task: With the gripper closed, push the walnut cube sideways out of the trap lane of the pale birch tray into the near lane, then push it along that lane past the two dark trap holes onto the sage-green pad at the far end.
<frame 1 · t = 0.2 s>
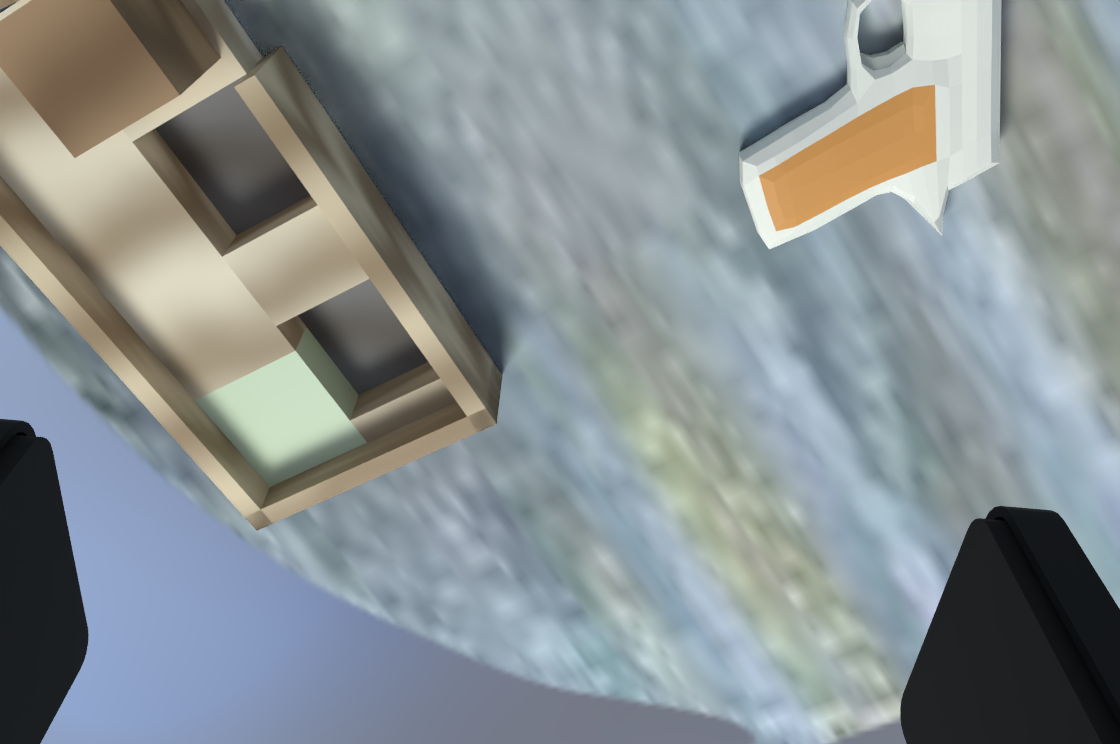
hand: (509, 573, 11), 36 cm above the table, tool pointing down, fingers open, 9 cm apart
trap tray: (231, 224, 48), on the table
block: (131, 31, 41), point 2 cm above the table, touching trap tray
pistol: (855, 14, 43), on the table
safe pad: (294, 394, 53), resting in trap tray
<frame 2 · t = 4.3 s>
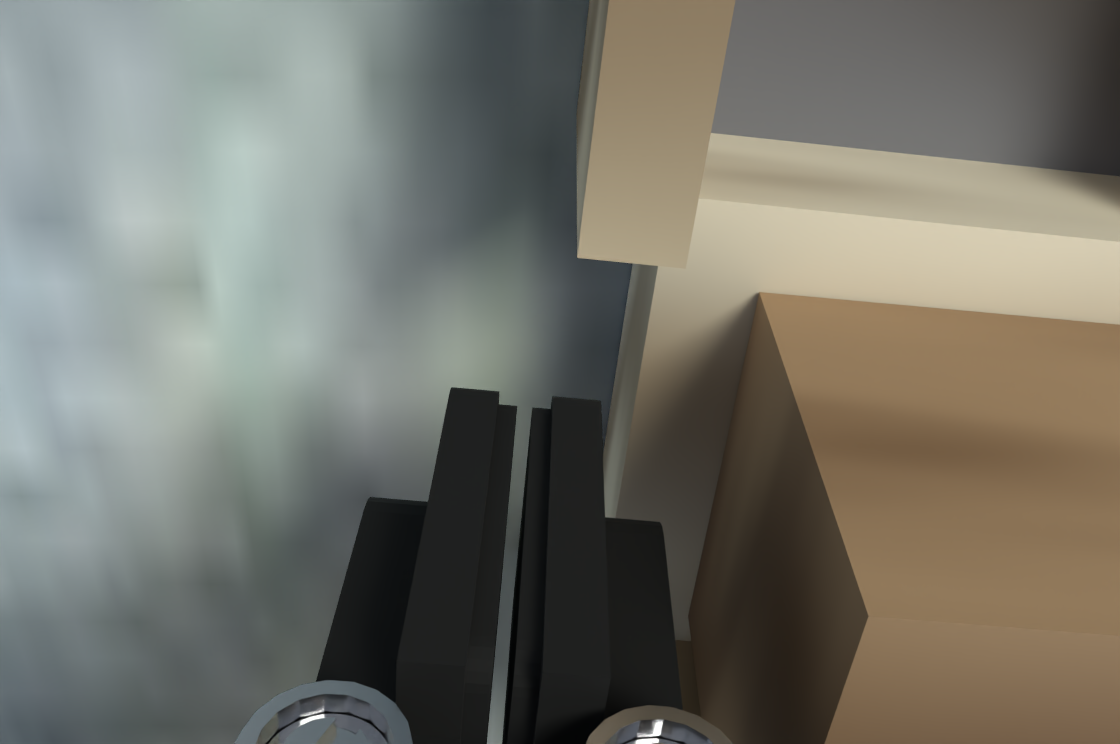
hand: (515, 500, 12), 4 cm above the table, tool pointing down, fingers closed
block: (917, 487, 13), point 3 cm above the table, touching gripper
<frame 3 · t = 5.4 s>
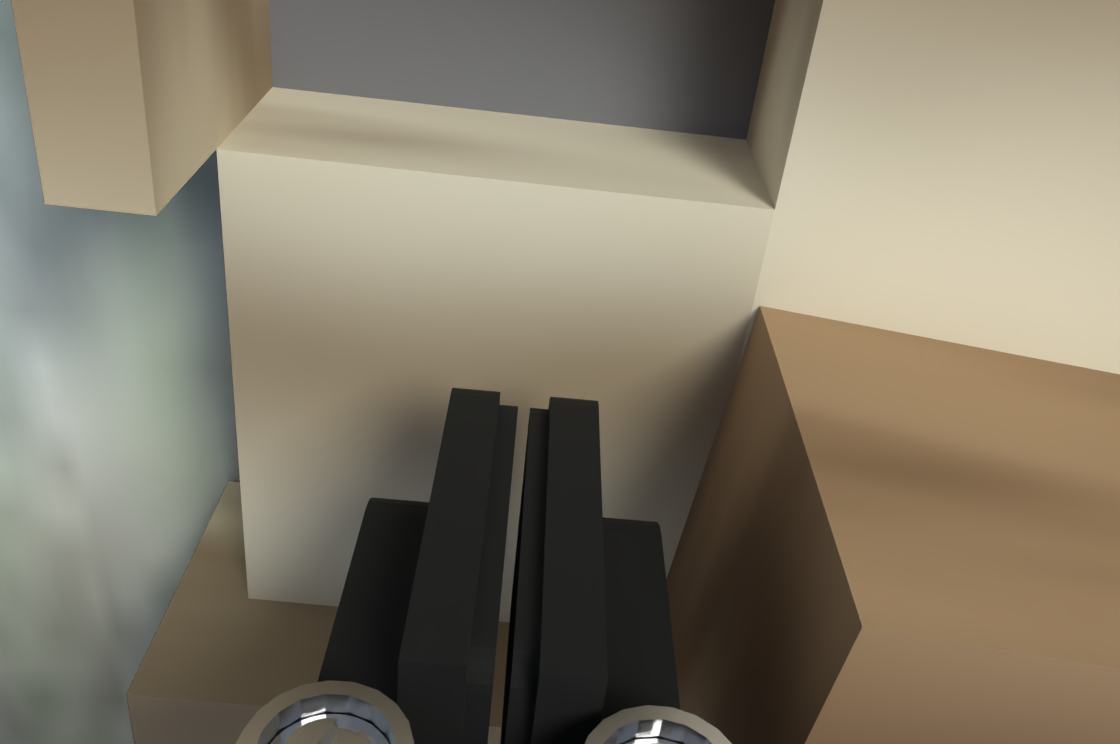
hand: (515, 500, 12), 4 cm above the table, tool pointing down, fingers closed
block: (889, 509, 13), point 2 cm above the table, touching gripper, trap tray
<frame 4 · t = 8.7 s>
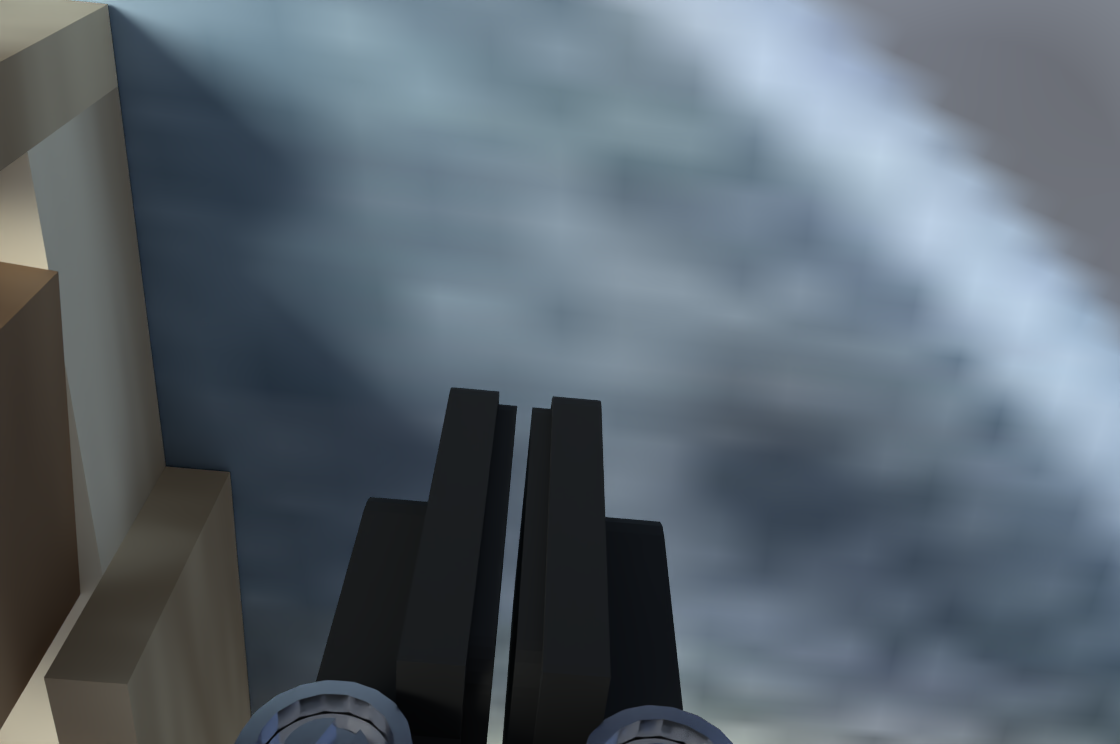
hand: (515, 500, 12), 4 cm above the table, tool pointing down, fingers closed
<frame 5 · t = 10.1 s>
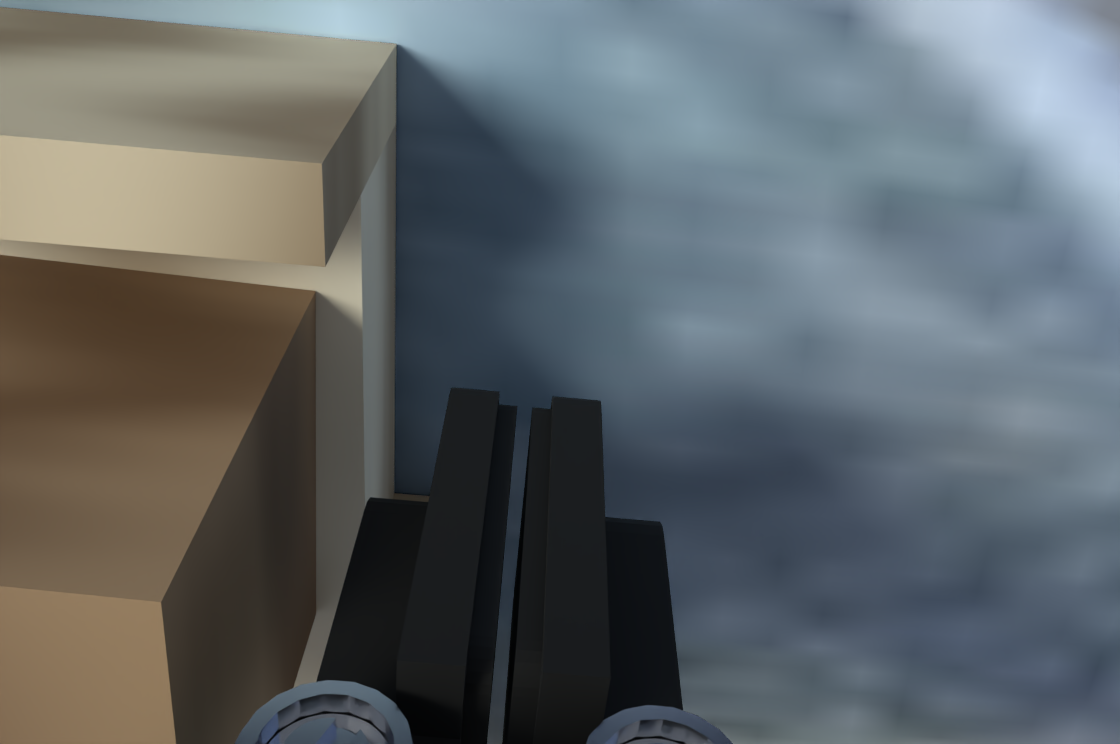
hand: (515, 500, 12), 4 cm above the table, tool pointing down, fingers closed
block: (114, 446, 13), point 3 cm above the table, touching gripper, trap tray
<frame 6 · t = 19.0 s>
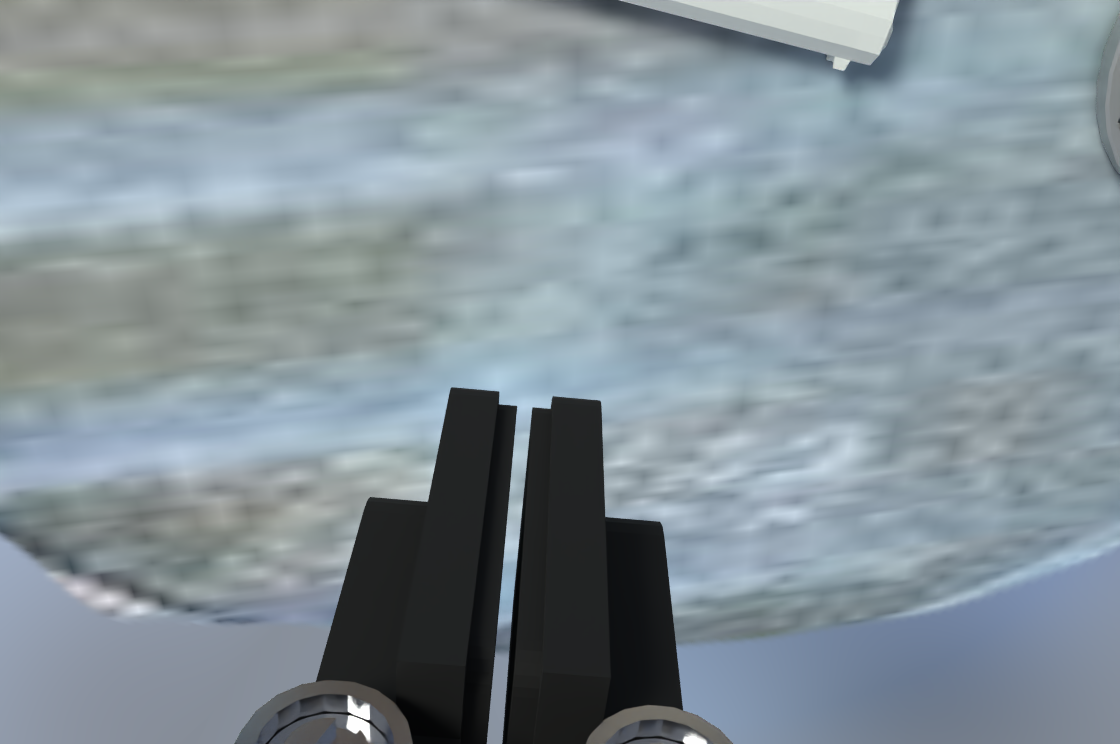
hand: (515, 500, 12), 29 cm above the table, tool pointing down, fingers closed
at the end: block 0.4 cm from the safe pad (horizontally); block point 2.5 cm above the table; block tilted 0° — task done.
